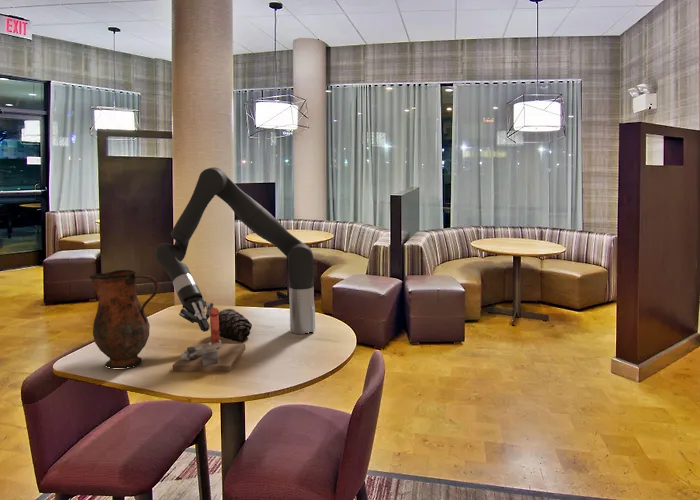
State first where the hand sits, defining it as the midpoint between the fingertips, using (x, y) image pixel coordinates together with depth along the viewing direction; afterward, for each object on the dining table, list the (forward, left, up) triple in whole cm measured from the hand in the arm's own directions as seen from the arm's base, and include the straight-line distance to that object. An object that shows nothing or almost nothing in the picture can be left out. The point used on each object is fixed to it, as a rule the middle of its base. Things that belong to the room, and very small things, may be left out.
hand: (206, 330), depth 184 cm
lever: (-1, +9, -5) cm, 10 cm away
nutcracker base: (-4, +10, -7) cm, 13 cm away
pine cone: (-6, -14, -7) cm, 17 cm away
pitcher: (+21, +14, -7) cm, 26 cm away
